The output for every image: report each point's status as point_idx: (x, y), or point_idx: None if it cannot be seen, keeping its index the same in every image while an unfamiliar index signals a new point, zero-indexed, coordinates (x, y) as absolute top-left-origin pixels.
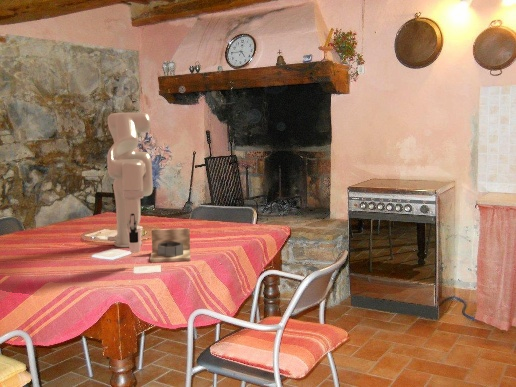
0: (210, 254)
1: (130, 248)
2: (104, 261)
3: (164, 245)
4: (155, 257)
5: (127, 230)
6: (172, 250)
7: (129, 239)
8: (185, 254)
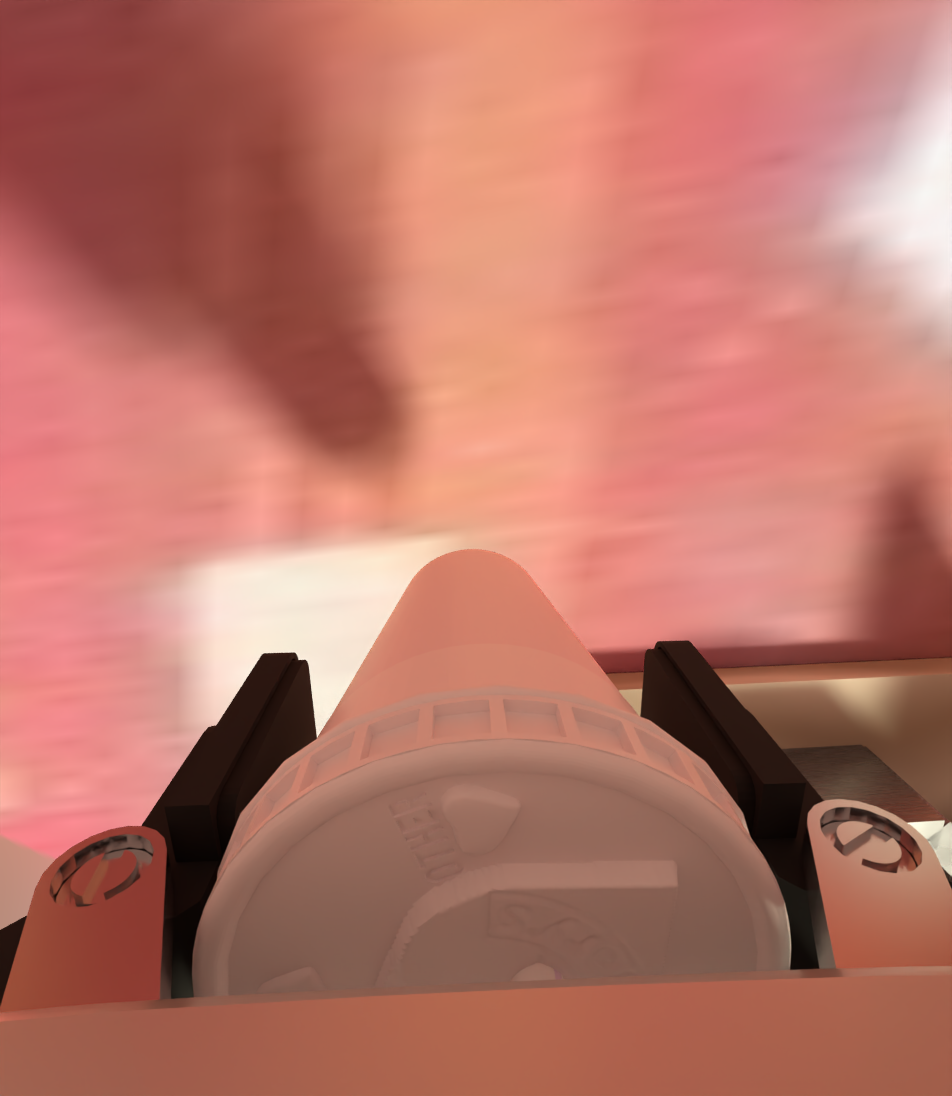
0: None
1: (414, 583)
2: (783, 108)
3: None
4: None
5: (291, 768)
6: None
7: (243, 684)
8: None
